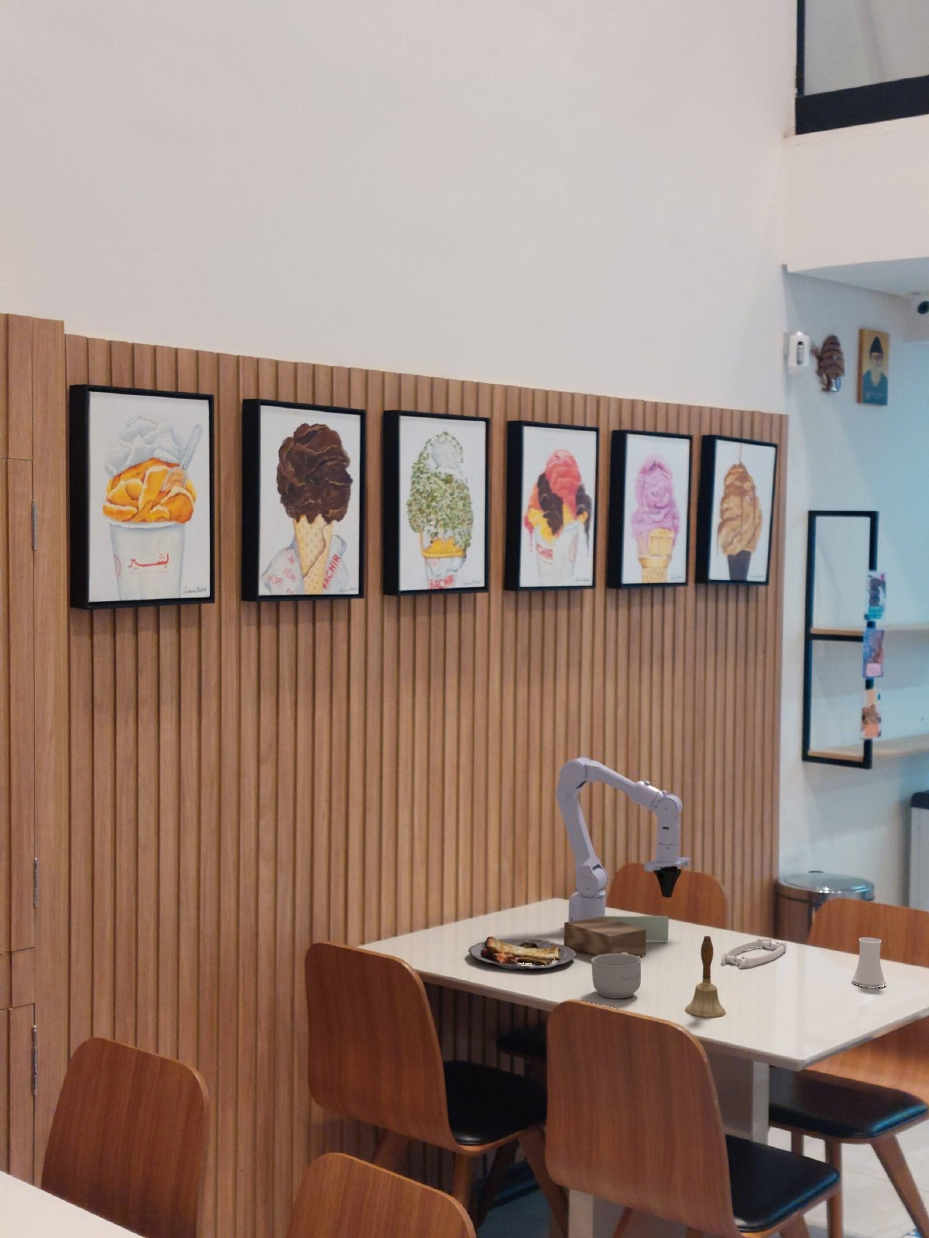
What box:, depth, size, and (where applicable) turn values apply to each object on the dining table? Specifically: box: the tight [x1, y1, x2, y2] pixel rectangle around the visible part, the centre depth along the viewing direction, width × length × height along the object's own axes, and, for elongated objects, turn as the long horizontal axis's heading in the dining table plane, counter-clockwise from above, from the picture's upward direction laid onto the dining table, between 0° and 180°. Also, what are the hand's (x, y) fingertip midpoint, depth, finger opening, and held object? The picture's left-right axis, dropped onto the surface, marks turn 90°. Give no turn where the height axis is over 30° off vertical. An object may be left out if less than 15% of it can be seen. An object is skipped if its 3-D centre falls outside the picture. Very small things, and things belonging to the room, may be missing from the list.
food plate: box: [468, 935, 577, 970], centre depth 338 cm, size 25×23×4 cm
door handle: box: [721, 937, 787, 970], centre depth 345 cm, size 3×10×25 cm
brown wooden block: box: [563, 916, 647, 959], centre depth 346 cm, size 16×12×6 cm
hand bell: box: [685, 935, 726, 1019], centre depth 300 cm, size 8×8×16 cm
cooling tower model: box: [851, 936, 887, 989], centre depth 324 cm, size 8×8×10 cm
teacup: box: [590, 952, 642, 999], centre depth 312 cm, size 14×11×8 cm
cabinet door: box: [604, 914, 670, 942], centre depth 358 cm, size 17×2×6 cm, turn 92°
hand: (666, 896), depth 362 cm, fingers closed
